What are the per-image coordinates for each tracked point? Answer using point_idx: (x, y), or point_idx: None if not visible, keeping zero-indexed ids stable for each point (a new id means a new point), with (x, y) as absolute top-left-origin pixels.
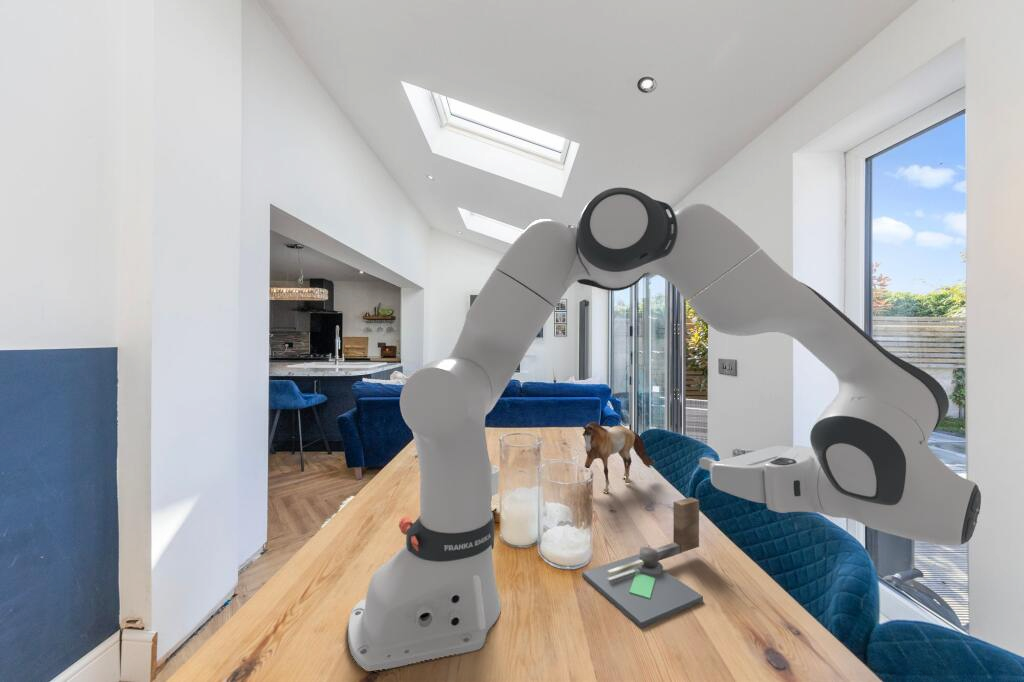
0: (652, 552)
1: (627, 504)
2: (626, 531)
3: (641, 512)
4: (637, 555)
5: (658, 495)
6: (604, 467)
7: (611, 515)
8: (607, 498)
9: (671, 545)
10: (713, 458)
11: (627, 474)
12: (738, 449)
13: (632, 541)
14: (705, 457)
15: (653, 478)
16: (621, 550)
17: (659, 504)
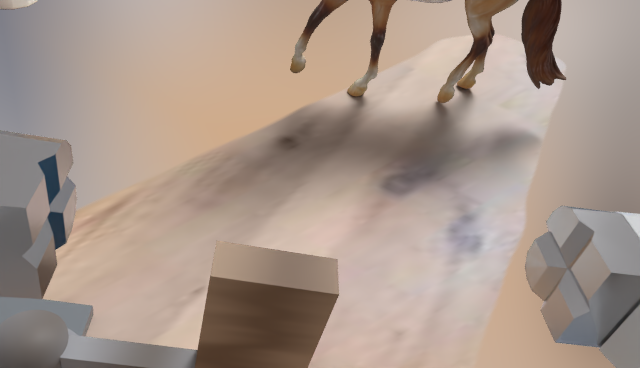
0: (36, 349)
1: (357, 146)
2: (218, 213)
3: (356, 184)
4: (80, 308)
5: (482, 164)
6: (373, 27)
7: (262, 152)
8: (333, 107)
9: (162, 357)
10: (19, 205)
11: (452, 76)
12: (617, 231)
13: (178, 251)
14: (7, 146)
15: (539, 118)
16: (95, 261)
17: (444, 188)
